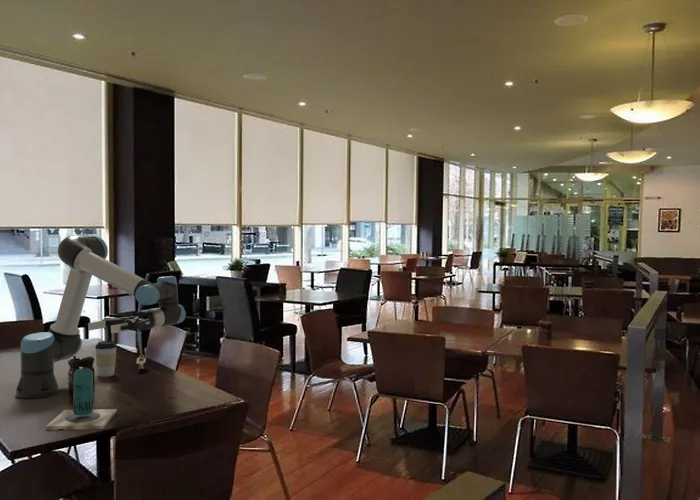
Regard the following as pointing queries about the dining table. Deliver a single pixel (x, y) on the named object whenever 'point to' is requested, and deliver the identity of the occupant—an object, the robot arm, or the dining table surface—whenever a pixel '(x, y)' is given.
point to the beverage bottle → (83, 389)
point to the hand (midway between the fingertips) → (99, 328)
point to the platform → (141, 361)
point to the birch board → (82, 420)
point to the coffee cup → (105, 358)
